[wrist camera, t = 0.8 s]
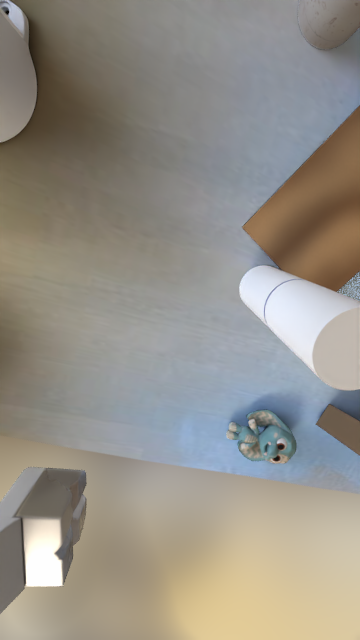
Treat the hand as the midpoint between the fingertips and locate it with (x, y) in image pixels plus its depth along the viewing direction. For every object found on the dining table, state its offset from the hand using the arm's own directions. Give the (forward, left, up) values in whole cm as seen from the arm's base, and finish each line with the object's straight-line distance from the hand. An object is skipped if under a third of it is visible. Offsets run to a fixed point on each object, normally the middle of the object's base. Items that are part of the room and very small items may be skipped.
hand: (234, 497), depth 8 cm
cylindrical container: (+11, +7, -41) cm, 43 cm away
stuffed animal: (+30, -11, -41) cm, 52 cm away
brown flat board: (+11, +26, -40) cm, 49 cm away
